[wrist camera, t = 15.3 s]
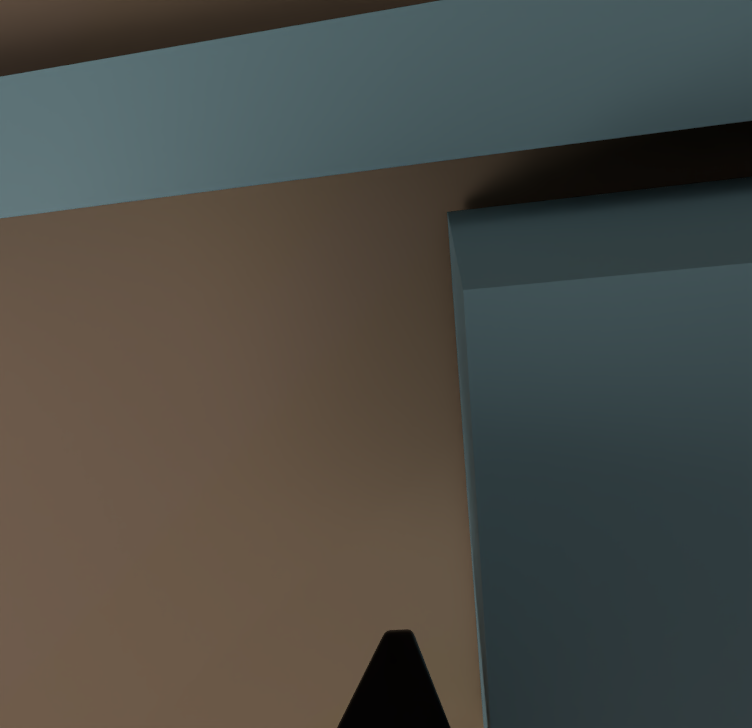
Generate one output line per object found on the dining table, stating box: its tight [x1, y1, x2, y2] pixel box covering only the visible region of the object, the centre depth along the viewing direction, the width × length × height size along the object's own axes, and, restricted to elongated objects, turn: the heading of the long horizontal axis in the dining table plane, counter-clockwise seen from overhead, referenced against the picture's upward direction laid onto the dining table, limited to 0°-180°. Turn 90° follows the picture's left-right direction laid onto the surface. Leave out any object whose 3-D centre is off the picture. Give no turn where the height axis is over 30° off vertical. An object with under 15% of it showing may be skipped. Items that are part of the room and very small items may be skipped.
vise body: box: [0, 0, 752, 218], centre depth 7 cm, size 14×24×5 cm, turn 97°
